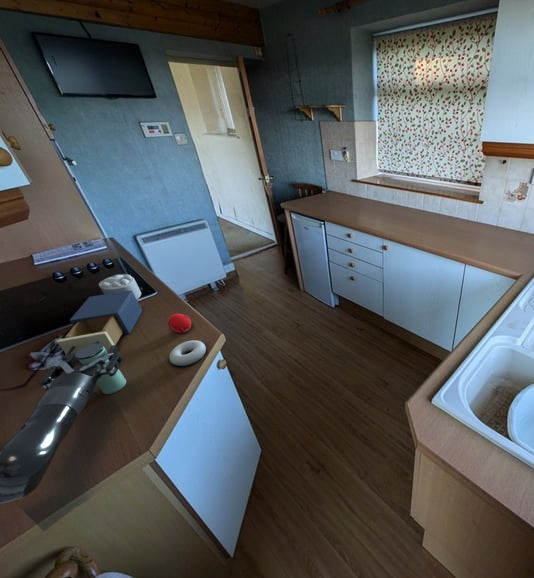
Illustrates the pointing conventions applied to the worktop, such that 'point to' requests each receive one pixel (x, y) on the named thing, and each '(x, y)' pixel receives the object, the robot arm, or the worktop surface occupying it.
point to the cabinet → (111, 309)
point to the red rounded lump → (179, 323)
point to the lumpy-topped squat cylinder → (120, 285)
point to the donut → (182, 360)
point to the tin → (105, 381)
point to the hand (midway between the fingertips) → (96, 351)
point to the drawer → (92, 334)
